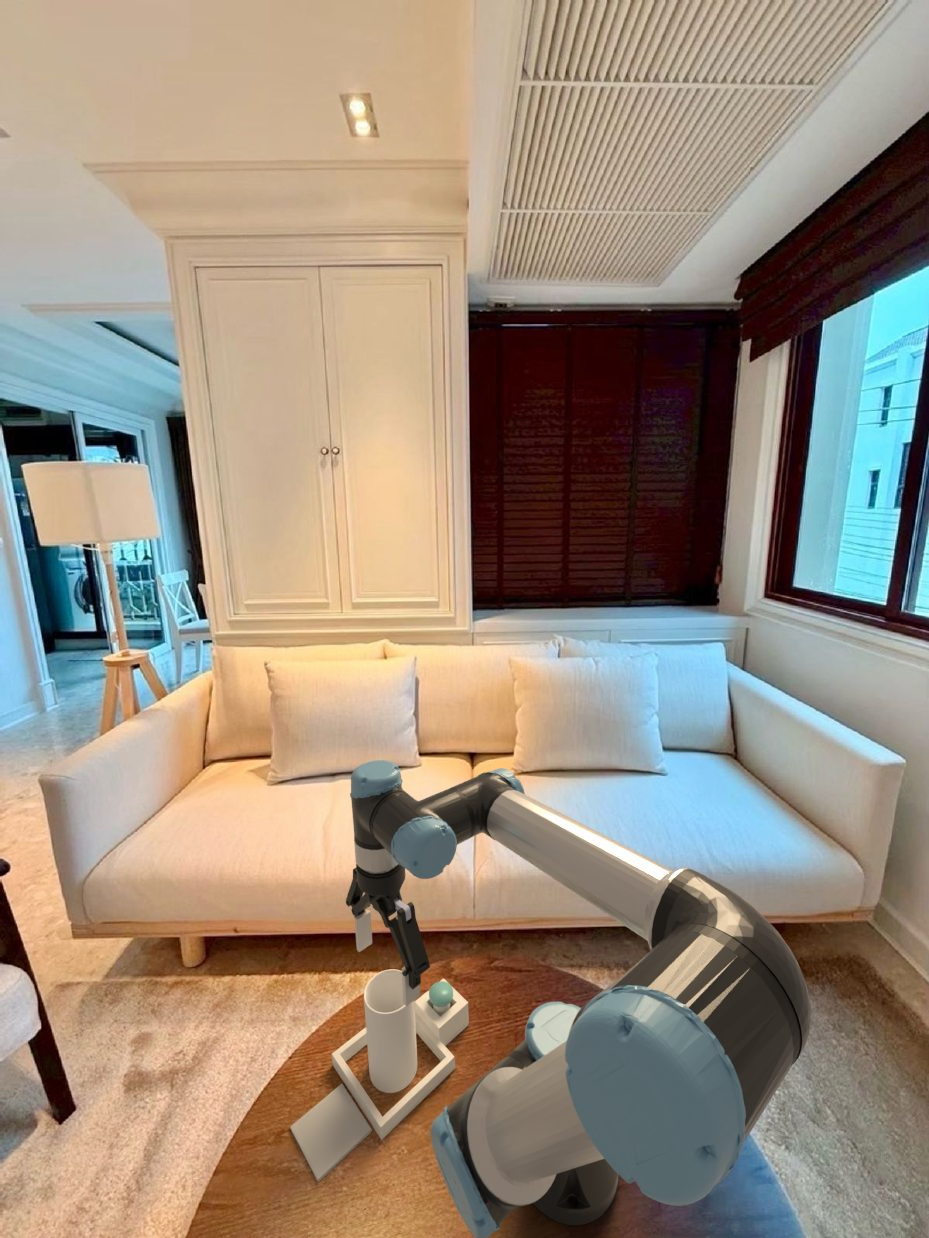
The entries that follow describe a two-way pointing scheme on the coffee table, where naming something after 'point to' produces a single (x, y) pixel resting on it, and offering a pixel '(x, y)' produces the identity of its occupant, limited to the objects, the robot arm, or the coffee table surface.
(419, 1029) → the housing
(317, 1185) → the coffee table surface
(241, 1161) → the coffee table surface
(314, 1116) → the pad
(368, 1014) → the cup
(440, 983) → the mint mushroom button
